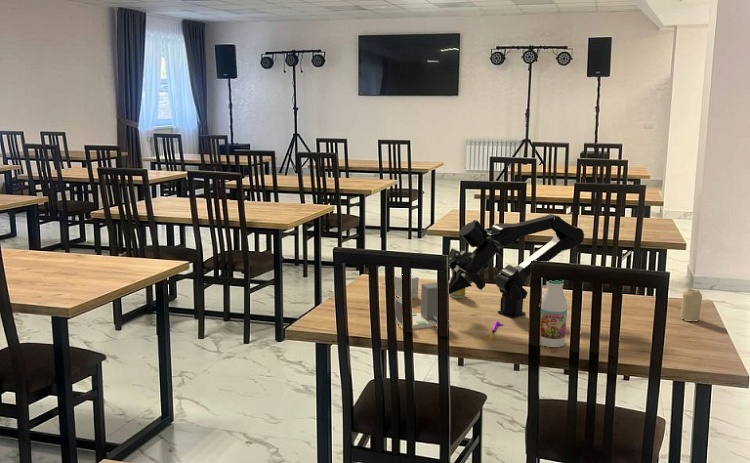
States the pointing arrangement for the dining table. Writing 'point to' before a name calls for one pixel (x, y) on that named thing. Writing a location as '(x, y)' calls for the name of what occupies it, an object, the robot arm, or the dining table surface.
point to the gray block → (429, 301)
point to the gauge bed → (417, 317)
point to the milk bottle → (553, 315)
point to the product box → (414, 286)
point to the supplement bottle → (458, 292)
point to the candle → (691, 305)
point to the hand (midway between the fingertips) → (446, 293)
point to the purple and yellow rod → (494, 329)
